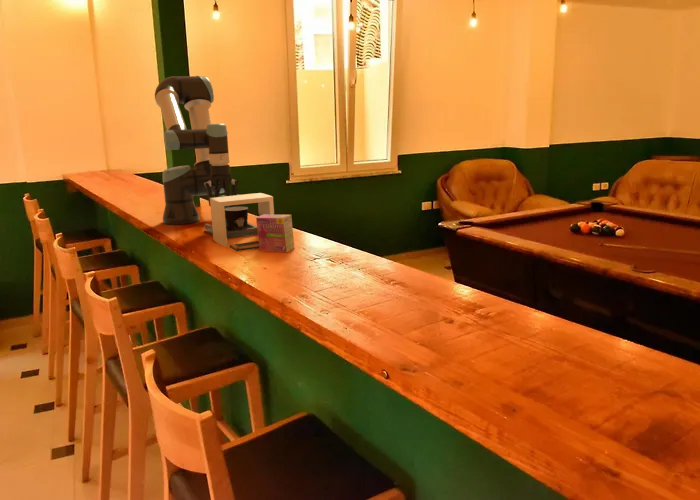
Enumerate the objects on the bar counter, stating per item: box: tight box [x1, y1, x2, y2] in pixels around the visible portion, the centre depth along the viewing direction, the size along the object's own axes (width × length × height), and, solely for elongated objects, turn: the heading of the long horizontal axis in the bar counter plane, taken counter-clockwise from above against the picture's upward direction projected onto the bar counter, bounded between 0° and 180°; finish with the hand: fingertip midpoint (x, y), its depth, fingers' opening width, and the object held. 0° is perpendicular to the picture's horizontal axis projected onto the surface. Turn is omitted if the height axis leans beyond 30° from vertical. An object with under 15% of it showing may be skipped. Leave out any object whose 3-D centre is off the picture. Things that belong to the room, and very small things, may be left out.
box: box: [255, 213, 295, 253], centre depth 186 cm, size 10×6×12 cm, turn 68°
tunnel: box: [209, 192, 275, 247], centre depth 201 cm, size 12×19×16 cm, turn 119°
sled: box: [204, 194, 258, 239], centre depth 214 cm, size 20×15×13 cm
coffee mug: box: [225, 206, 249, 231], centre depth 209 cm, size 12×9×10 cm
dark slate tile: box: [228, 240, 260, 252], centre depth 193 cm, size 8×16×1 cm, turn 119°
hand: (224, 223), depth 222 cm, fingers closed on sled, 3 cm apart
